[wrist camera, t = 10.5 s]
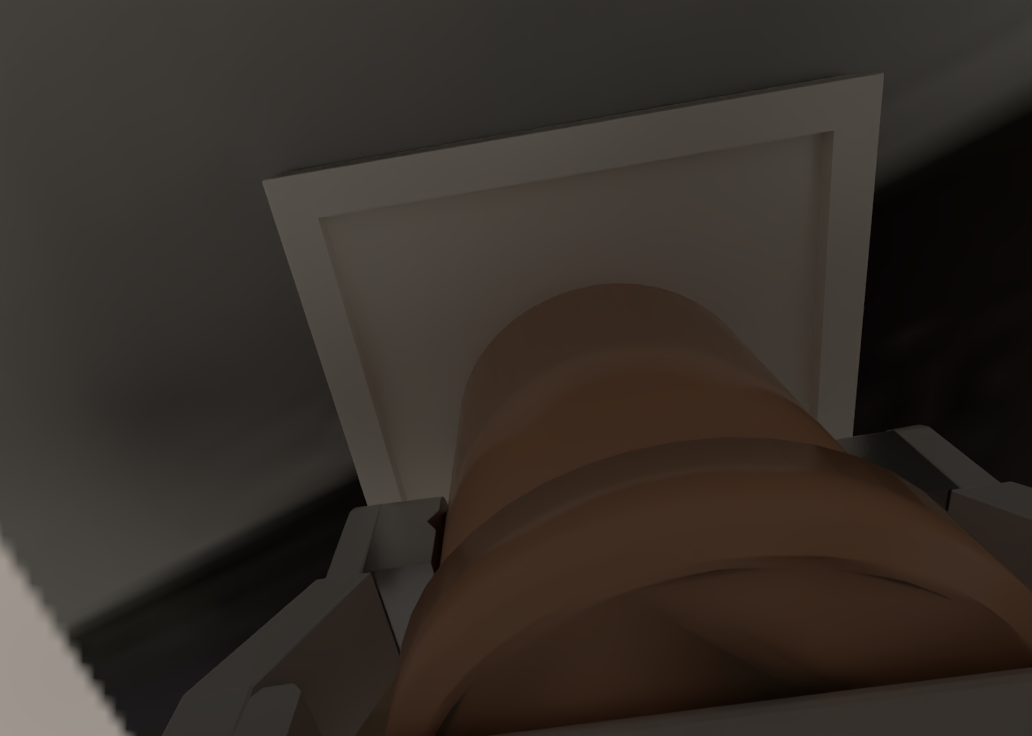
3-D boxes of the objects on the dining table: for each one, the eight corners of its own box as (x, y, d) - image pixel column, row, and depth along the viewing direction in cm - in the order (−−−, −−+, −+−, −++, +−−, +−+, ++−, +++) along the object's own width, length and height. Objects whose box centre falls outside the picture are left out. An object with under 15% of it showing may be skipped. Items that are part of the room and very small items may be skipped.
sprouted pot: (409, 298, 11) (66, 1077, 2) (777, 238, 11) (1963, 888, 2) (477, 573, 14) (436, 1397, 5) (771, 532, 13) (1261, 1339, 5)
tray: (282, 172, 12) (261, 180, 11) (847, 74, 11) (884, 72, 10) (412, 586, 17) (405, 621, 15) (818, 530, 16) (841, 562, 15)
